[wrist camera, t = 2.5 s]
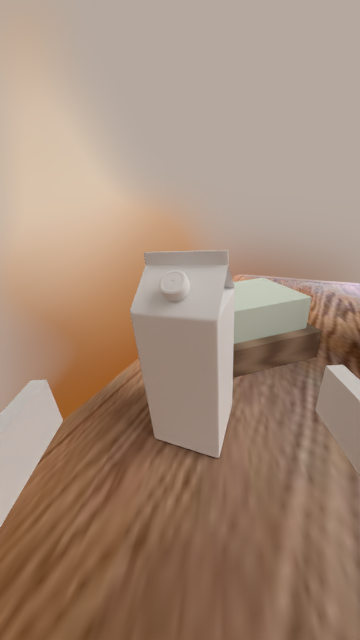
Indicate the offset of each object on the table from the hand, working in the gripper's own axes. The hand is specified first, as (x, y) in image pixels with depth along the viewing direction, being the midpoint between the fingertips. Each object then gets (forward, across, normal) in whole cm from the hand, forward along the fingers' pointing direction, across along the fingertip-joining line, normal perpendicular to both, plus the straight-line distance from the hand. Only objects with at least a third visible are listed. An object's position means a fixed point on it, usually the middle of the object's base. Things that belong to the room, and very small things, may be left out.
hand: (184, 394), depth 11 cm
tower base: (+26, +11, -14) cm, 32 cm away
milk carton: (+10, 0, -14) cm, 17 cm away
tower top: (+26, +11, -9) cm, 30 cm away
